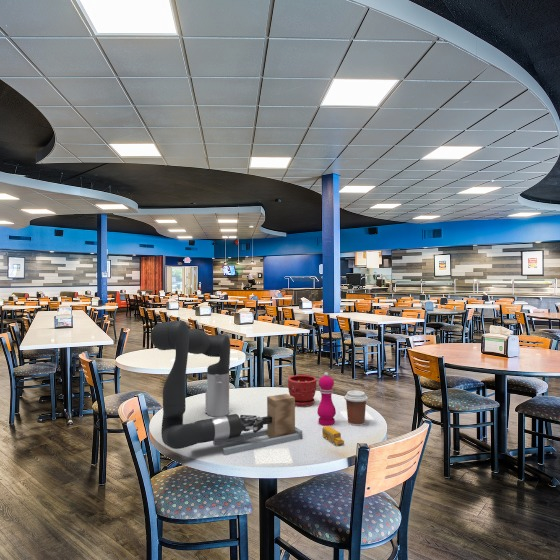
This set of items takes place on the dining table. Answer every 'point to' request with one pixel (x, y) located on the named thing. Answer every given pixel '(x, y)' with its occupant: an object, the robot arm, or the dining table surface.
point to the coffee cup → (356, 407)
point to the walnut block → (281, 415)
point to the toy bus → (332, 435)
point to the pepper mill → (326, 401)
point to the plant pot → (302, 389)
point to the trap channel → (258, 443)
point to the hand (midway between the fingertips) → (270, 419)
